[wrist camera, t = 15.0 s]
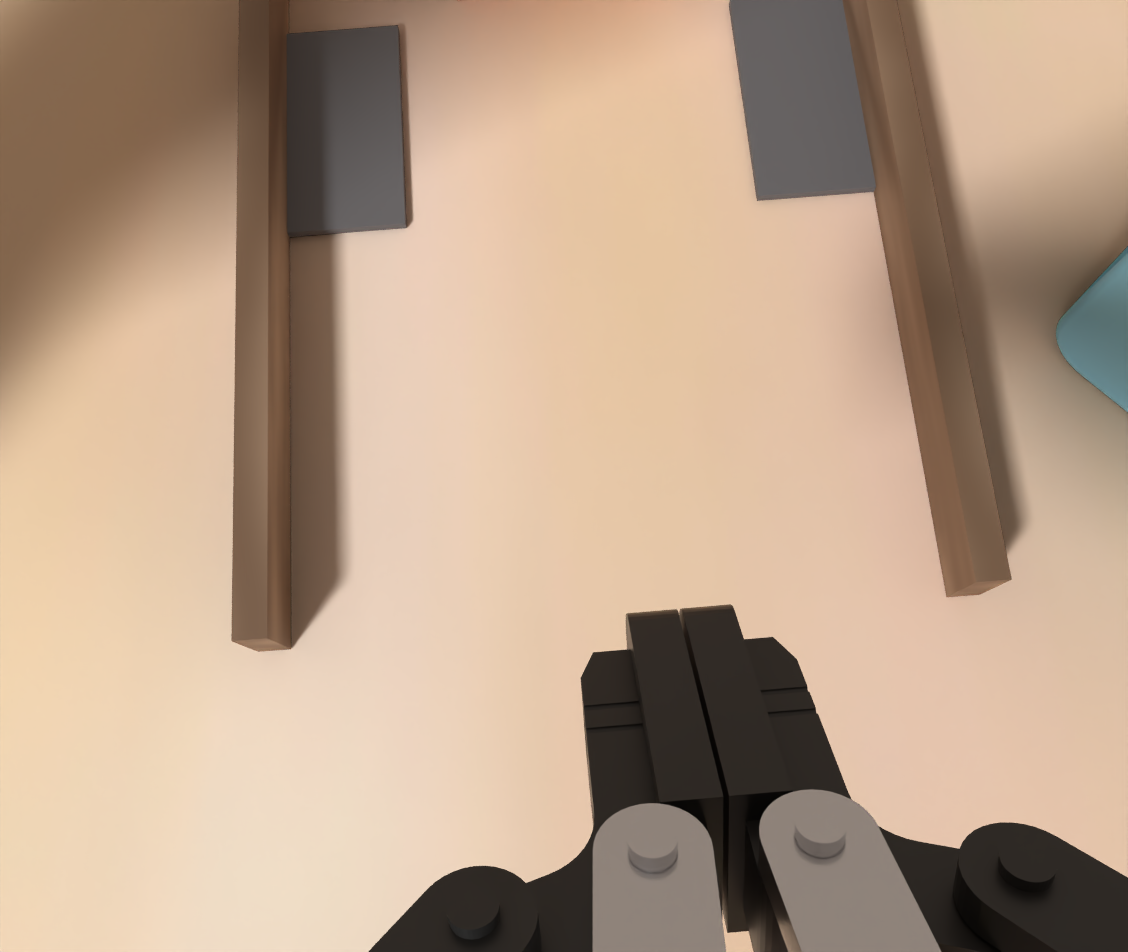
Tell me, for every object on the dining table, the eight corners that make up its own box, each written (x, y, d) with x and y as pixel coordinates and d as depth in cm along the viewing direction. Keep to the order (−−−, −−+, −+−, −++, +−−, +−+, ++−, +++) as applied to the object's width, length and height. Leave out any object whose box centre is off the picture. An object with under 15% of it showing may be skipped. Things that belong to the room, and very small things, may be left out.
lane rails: (258, 651, 32) (200, 628, 27) (262, -295, 42) (222, -432, 38) (979, 594, 32) (1049, 561, 27) (803, -336, 43) (831, -478, 38)
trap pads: (289, 236, 36) (287, 232, 35) (288, 39, 38) (286, 33, 38) (873, 191, 36) (875, 186, 36) (838, -3, 38) (840, -9, 38)
